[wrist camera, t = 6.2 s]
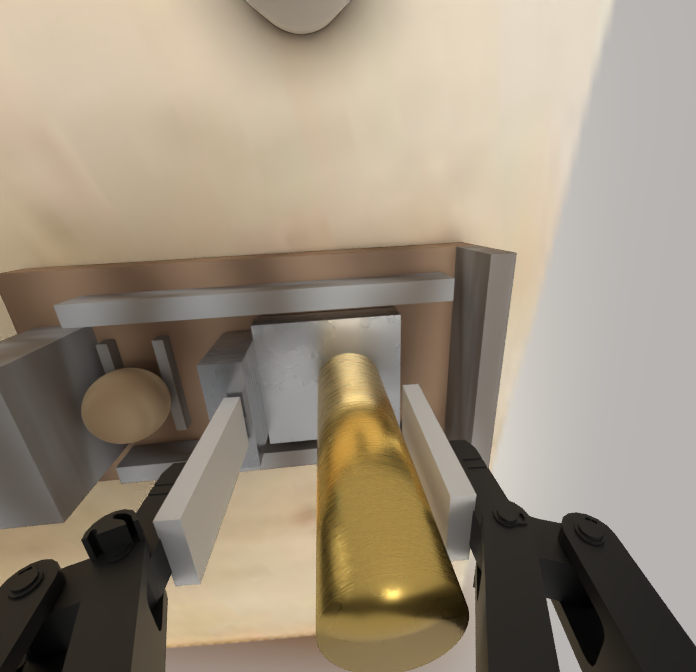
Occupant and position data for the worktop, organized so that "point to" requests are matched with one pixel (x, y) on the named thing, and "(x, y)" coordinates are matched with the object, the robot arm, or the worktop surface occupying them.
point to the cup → (299, 13)
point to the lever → (349, 479)
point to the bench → (200, 335)
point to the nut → (126, 405)
